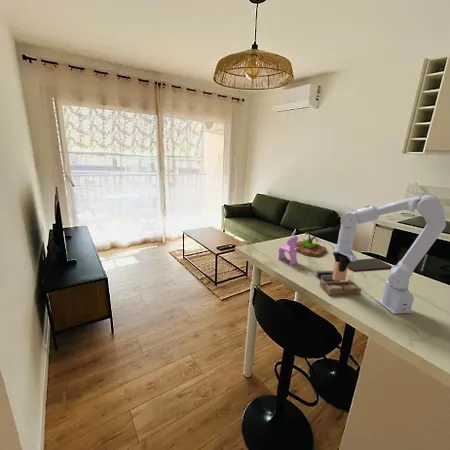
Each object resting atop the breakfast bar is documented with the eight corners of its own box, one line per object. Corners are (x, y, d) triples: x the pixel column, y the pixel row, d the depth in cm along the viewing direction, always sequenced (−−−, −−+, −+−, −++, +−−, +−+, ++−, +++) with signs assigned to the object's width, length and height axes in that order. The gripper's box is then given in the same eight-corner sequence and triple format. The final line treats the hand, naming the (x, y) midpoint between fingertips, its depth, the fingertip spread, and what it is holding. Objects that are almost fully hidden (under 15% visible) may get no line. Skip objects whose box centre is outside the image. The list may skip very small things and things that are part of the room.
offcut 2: (354, 293, 107) (356, 287, 106) (343, 293, 106) (345, 287, 105) (351, 291, 109) (353, 284, 108) (341, 291, 108) (342, 285, 107)
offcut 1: (341, 293, 106) (342, 287, 105) (330, 294, 105) (331, 287, 104) (339, 291, 108) (340, 285, 107) (328, 291, 107) (329, 285, 106)
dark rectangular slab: (337, 260, 138) (375, 257, 143) (337, 263, 138) (375, 260, 144) (353, 270, 126) (393, 266, 132) (352, 273, 127) (393, 269, 132)
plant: (301, 242, 168) (303, 226, 165) (330, 251, 154) (333, 233, 151) (285, 249, 154) (287, 232, 151) (315, 259, 141) (318, 240, 138)
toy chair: (285, 256, 142) (288, 231, 138) (298, 262, 136) (302, 235, 132) (276, 259, 137) (278, 233, 133) (288, 265, 131) (292, 238, 127)
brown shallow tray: (359, 294, 106) (361, 288, 105) (328, 295, 104) (329, 289, 103) (348, 285, 113) (349, 279, 112) (319, 285, 112) (320, 279, 111)
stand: (339, 281, 116) (340, 276, 115) (321, 281, 115) (321, 276, 114) (332, 275, 122) (333, 270, 121) (315, 275, 121) (315, 270, 120)
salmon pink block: (345, 280, 108) (348, 263, 106) (334, 280, 108) (337, 263, 106) (342, 278, 110) (345, 261, 108) (332, 278, 110) (334, 261, 108)
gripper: (327, 234, 111) (323, 262, 114) (346, 246, 97) (341, 278, 100) (342, 234, 111) (337, 262, 115) (363, 246, 98) (357, 277, 101)
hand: (340, 270), depth 108 cm, fingers closed on salmon pink block, 2 cm apart
